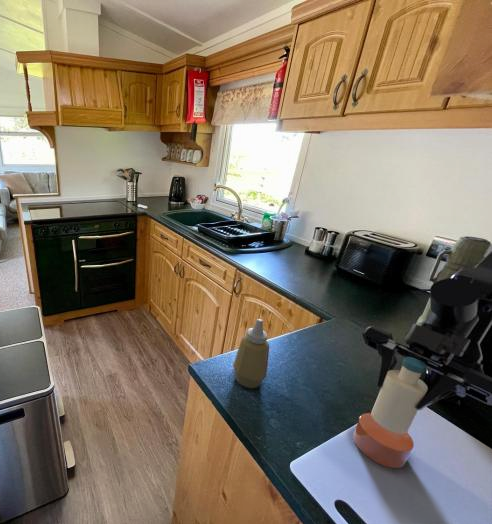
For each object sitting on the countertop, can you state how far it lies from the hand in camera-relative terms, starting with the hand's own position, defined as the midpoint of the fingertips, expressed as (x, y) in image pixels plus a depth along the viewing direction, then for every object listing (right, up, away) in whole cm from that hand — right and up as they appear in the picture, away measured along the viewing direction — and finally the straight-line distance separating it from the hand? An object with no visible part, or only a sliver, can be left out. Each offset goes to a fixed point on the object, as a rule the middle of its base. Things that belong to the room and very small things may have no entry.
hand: (397, 397), depth 53 cm
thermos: (+48, -1, +42) cm, 63 cm away
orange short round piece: (+1, -12, +5) cm, 13 cm away
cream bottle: (+1, -6, +3) cm, 7 cm away
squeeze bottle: (-20, -6, +21) cm, 30 cm away
